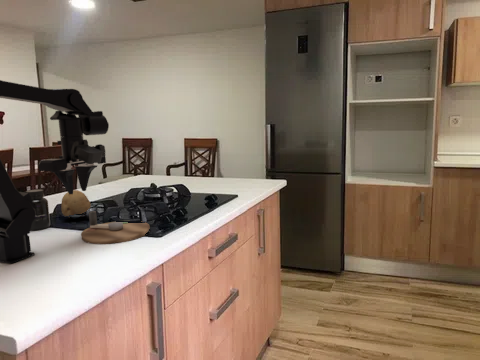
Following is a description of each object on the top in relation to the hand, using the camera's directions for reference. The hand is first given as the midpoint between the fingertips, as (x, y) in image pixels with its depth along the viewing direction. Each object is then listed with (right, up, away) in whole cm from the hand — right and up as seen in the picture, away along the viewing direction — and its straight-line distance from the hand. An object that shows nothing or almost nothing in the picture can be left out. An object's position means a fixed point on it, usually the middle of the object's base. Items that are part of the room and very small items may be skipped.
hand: (77, 192), depth 106 cm
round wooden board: (+9, -12, +4) cm, 16 cm away
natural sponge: (-10, -10, +23) cm, 27 cm away
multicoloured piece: (+6, -11, +5) cm, 13 cm away
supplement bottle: (-18, -12, +14) cm, 26 cm away
